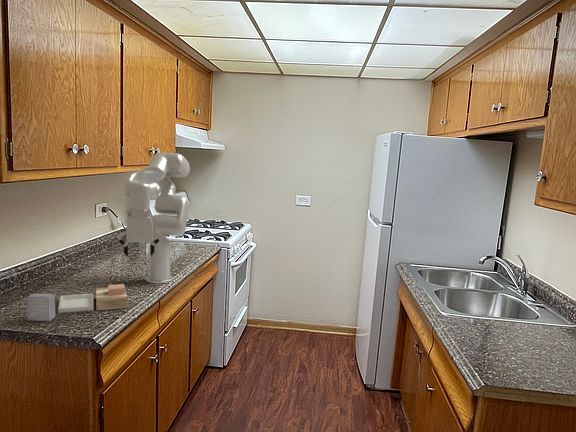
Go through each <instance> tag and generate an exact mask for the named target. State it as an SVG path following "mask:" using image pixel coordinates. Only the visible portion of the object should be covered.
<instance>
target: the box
mask: <svg viewBox="0 0 576 432" xmlns="http://www.w3.org/2000/svg"><path fill="white" fill-rule="evenodd" d="M94 299H95V297H94V293H84V294H69V295H67V294H66V295H61V296H60V298H59V303H58V307H57V314H58V315H59V314H72V313H82V312H94V311H95V310H94V309H95V307H94V306H95V305H94V304H95V302H94Z"/></svg>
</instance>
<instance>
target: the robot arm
mask: <svg viewBox="0 0 576 432" xmlns="http://www.w3.org/2000/svg"><path fill="white" fill-rule="evenodd" d="M190 167H191V166H190V163H189V161H188V160H187V159H186V158H185V157H184V155H183V154H181V153H177V152H164V151H163V152H162V151H161V152H157V153H155V154H154V155H153V156H152V158H151V160H150V162H149V164H148V165H147V167H144V168H142V169H139V170H137V171H135V172H133V173H132V174H130V176H129V177H128V179H127V180H126V182H125V185H124V188H123V192H124V195H125V196H126V198H127V199H129V210H126V211H125V214H126V215H129V216H128V217H127V221H126V229H125V231H122V232H121V233H118V234H116V238H117V240H118V242H119V243H120V244H121V245H122V246H123V254H124V255H125V257H129V246H128V245H129V244H130V243H149V256H148V257H149V259H148V260H149V261H148V263H149V267H148V268H149V271H148V272H149V274H148V276H147V277H145V282H147V283H148V284H167V283H170V282H172V281H174V277H173V276H172V275H170V274H171V242H170V240H169V238H167V236H175V237H181V236H183V235H184V234H185V232H186V228H187V223H188V222H187V221H188V215H189V208H190V206H189V205H190V203H189V199H188V198H187V197H186V196H184V195H177V194H176V190H177V188H176V185H175V183H174V182H173V181H172V180H171V179H170V177H171V178H186V177H188V176H189V174H190V171H191V168H190ZM150 201H154V211H155V212H156V213H158V214H153V215H152V216H150V213H151V212H150V207H151V206H150V204H151V202H150ZM124 236H125V240H123V239H122V237H124Z"/></svg>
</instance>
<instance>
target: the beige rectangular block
mask: <svg viewBox="0 0 576 432" xmlns="http://www.w3.org/2000/svg"><path fill="white" fill-rule="evenodd" d="M95 295H96V296H95V299H96V301H95V303H96V305H95V306H96V307H95V308H96V311H107V310H108V311H109V310H116V309H117V310H119V309H121V310H122V309H127V308H128V296H127V291H126V290H125V294H123V295H109V293H108V287H98V288H97V287H96V288H95Z"/></svg>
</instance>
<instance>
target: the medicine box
mask: <svg viewBox="0 0 576 432" xmlns="http://www.w3.org/2000/svg"><path fill="white" fill-rule="evenodd" d="M55 296H56V295H55V294H53V293H51V294H50V293H32V294H30V295H29V296H26V320H27V321H35V322H36V321H37V322H38V321H39V322H51V321H52V320H53V319H55V318H56V299H55V298H56V297H55Z"/></svg>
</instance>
